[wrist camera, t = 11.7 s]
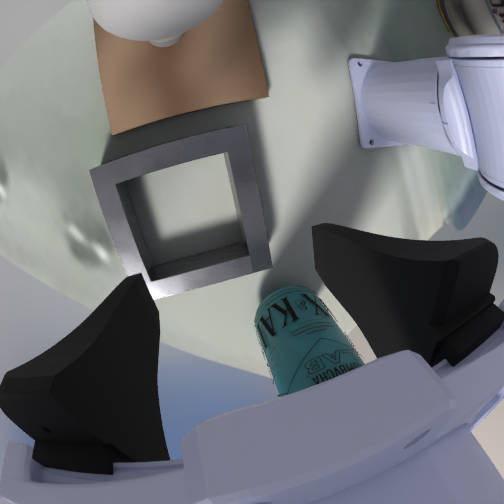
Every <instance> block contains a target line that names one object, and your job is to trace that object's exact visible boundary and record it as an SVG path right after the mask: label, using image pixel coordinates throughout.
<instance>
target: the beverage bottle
mask: <svg viewBox="0 0 504 504" xmlns="http://www.w3.org/2000/svg"><path fill="white" fill-rule="evenodd" d="M313 292H314V291H313ZM313 292H312V290H311V291H310V289H307V288H304V287H301V286H287V287H283V288H280V289H278V290H276V291H274V292H272V293H271V294H269V295H268V296H267V297H266V298H265V299H264V300H263V301H262V302H261V304H260V305H259V307H258V309H257V312H256V316H255V320H254V322H255V327H256V329H257V331H256V330H255V331H256V332H258V335H259V338H260V341H261V343H260V344H262V345H261V346H262V347H263V348H262V349H263V350H264V352H265V355H266V358H267V361H268V363H266V364H267V366H268V364H269V366H268V367H270V369H271V372H272V375H273V378H274V381H275V383H276V386H277V389H278V392H279V394H280V395H278V396H280V397H282V396H286V395H289V394H292V393H295V392H298V391H300V390H303V389H306V388H309V387H312V386H314V385H317V384H320V383H322V382H325V381H327V380H330V379H333V378H335V377H337V376H340V375H342V374H345V373H347V372H349V371H352V370H354V369H356V368H358V367H361V366H363V365H365V364H364V363H363V361H362V359H361V358H360V357H359V355H358V352H356V351H355V349H354V348H353V346H352V345H351V344H350V342H349V341H348V339H347V337H346V336H345V335H344V334H343V332H342V331H341V329H340V328H339V326H338V325H337V324H336V322H335V321H334V319H333V318H332V317H331V315H330V314H329V312H330V310H329V309H328V308H327V307H326V305H325V304H324V302H322V300H321V299H320V298H318V297H317V296H316V294H317V293H316V294H315V293H313ZM318 296H319V295H318ZM319 299H320V300H319ZM321 302H322V303H323V304H324V305H323V304H322V303H321ZM324 306H325V307H326V308H327V310H326V308H325V307H324ZM328 310H329V312H328ZM330 313H331V312H330ZM331 314H332V313H331ZM333 317H334V316H333ZM334 318H335V317H334ZM336 321H337V320H336ZM337 322H338V321H337ZM254 329H255V328H254ZM344 332H345V331H344ZM345 334H346V333H345ZM258 335H257V336H258ZM261 346H260V347H261ZM262 349H261V350H262ZM263 350H262V351H263ZM262 353H263V352H262ZM263 354H264V353H263ZM263 356H264V355H263ZM264 357H265V356H264ZM264 359H265V358H264ZM265 362H266V361H265ZM270 374H271V373H270ZM272 375H271V376H272Z"/></svg>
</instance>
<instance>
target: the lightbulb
mask: <svg viewBox="0 0 504 504" xmlns="http://www.w3.org/2000/svg"><path fill="white" fill-rule="evenodd" d="M223 1H224V0H87V2H88V6H89V11H90V13H91V15H92V16H93V18H94V20H95V21H96V22H97V23H98V24H99V25H100V26H101V27H102V28H103V29H104V30H105V31H107V32H109V33H111V34H113V35H116V36H118V37H122V38H125V39H129V40H136V41H149V42H150V43H151V44H152V45H154V46H157V47H169V46H172V45H174V44H176V43H177V42H178V41H179V40H180V39H181V38H182V37H183V35H184V33H185V32H187V31H189V30H191V29H193V28H195V27H196V26H198V25H199V24H201V23H202V22H204V21H205V20H206V19H207V18H208V17H209V16H211V15H212V14H213V13H214V12H215V11H216V10H217V9H218V8H219V7H220V5H221V4H222V3H223Z"/></svg>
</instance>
